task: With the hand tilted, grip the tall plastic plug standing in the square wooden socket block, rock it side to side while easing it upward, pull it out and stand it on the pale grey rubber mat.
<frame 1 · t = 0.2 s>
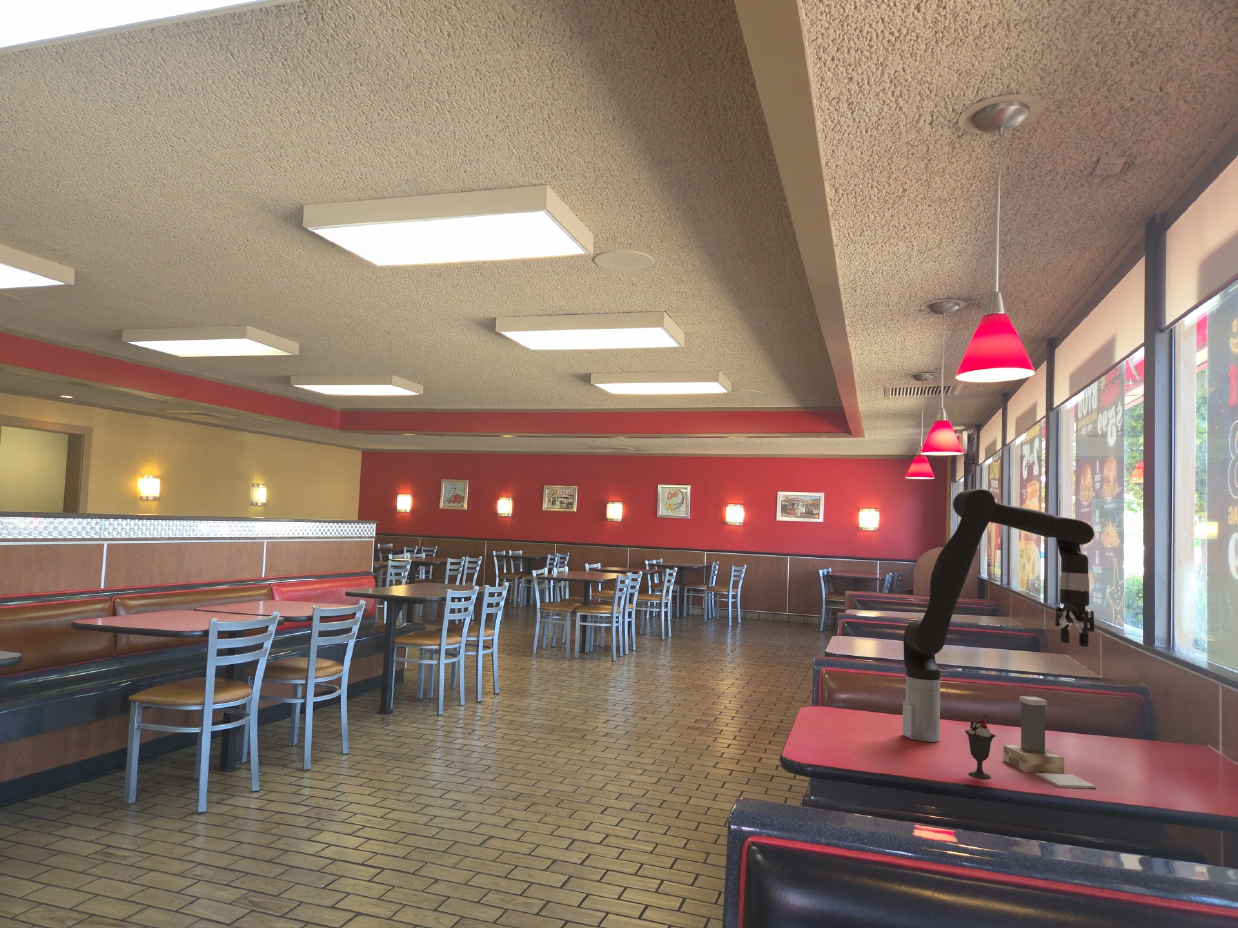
hand: (1074, 644, 226), 29 cm above the table, tool pointing down, fingers open, 8 cm apart
mat: (1065, 781, 186), on the table
plug: (1032, 732, 199), in the square wooden socket block
square wooden socket block: (1032, 766, 198), on the table
sundae: (979, 776, 187), on the table
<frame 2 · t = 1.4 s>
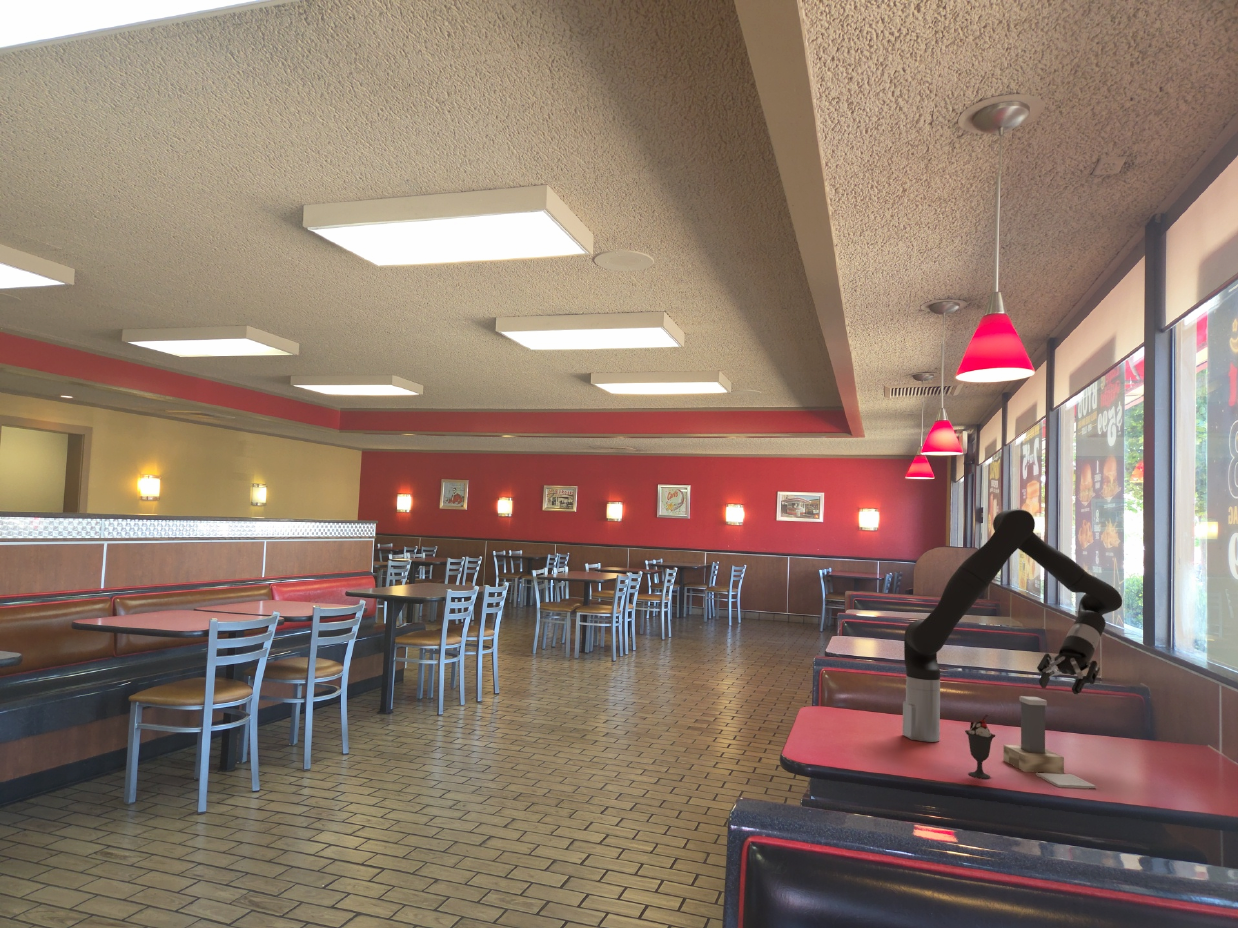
hand: (1057, 689, 206), 19 cm above the table, tool tilted 45°, fingers open, 8 cm apart
nothing on the table moved.
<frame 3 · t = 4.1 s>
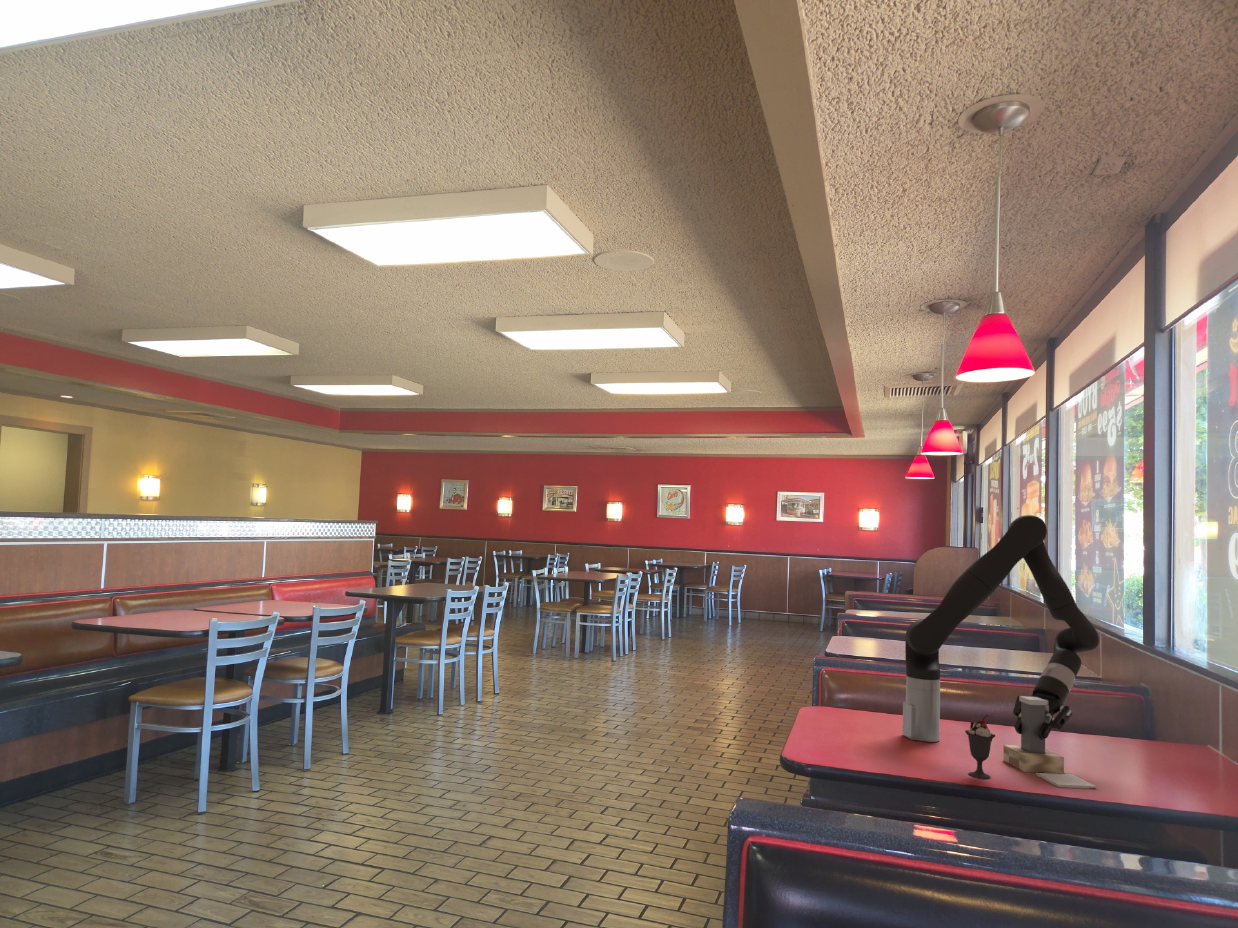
hand: (1029, 734, 197), 8 cm above the table, tool tilted 45°, fingers closed on plug, 5 cm apart
plug: (1033, 732, 198), in the square wooden socket block, touching gripper
everything else where it was.
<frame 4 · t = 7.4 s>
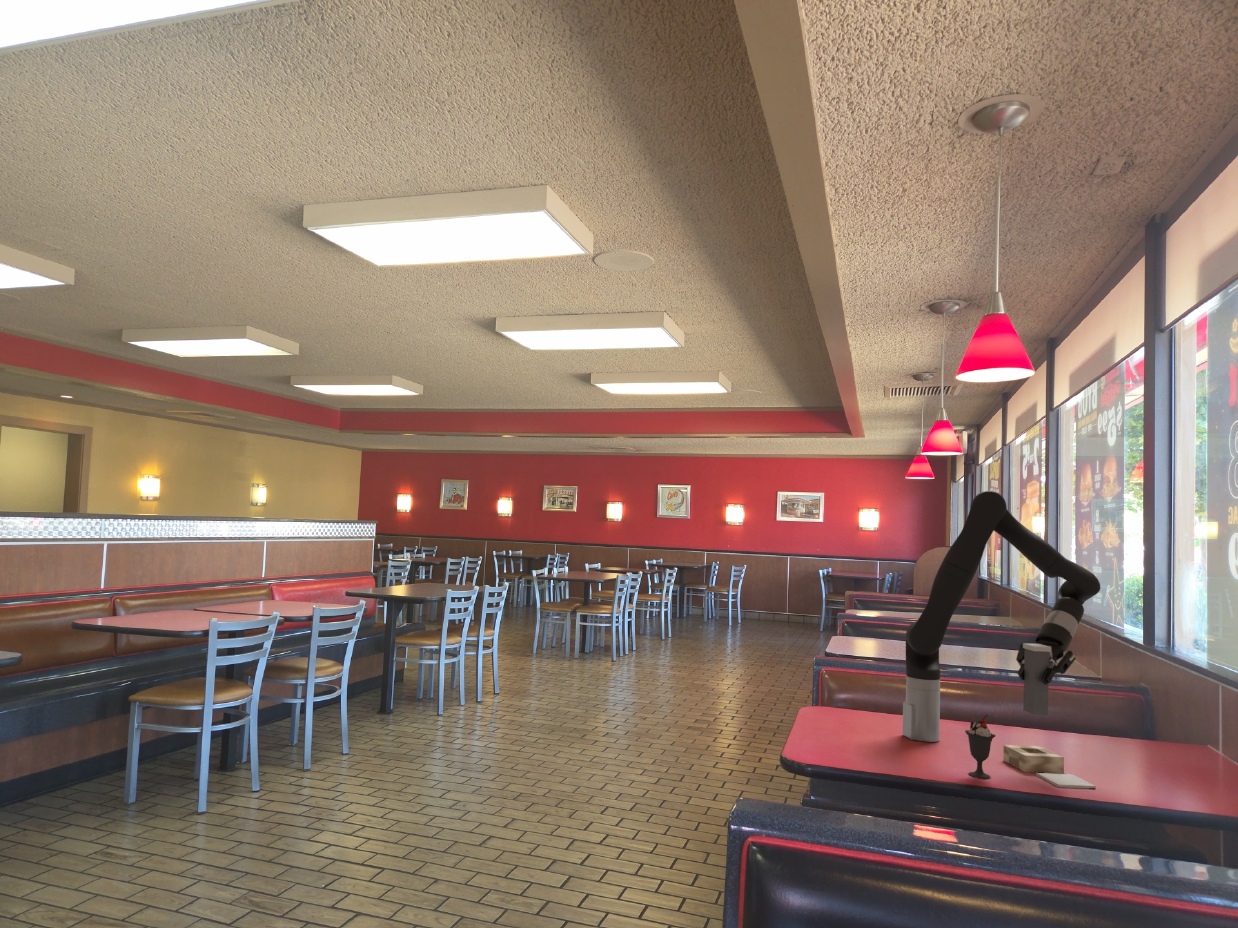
hand: (1032, 679, 198), 22 cm above the table, tool tilted 45°, fingers closed on plug, 5 cm apart
plug: (1036, 678, 199), point 22 cm above the table, touching gripper
everything else where it was.
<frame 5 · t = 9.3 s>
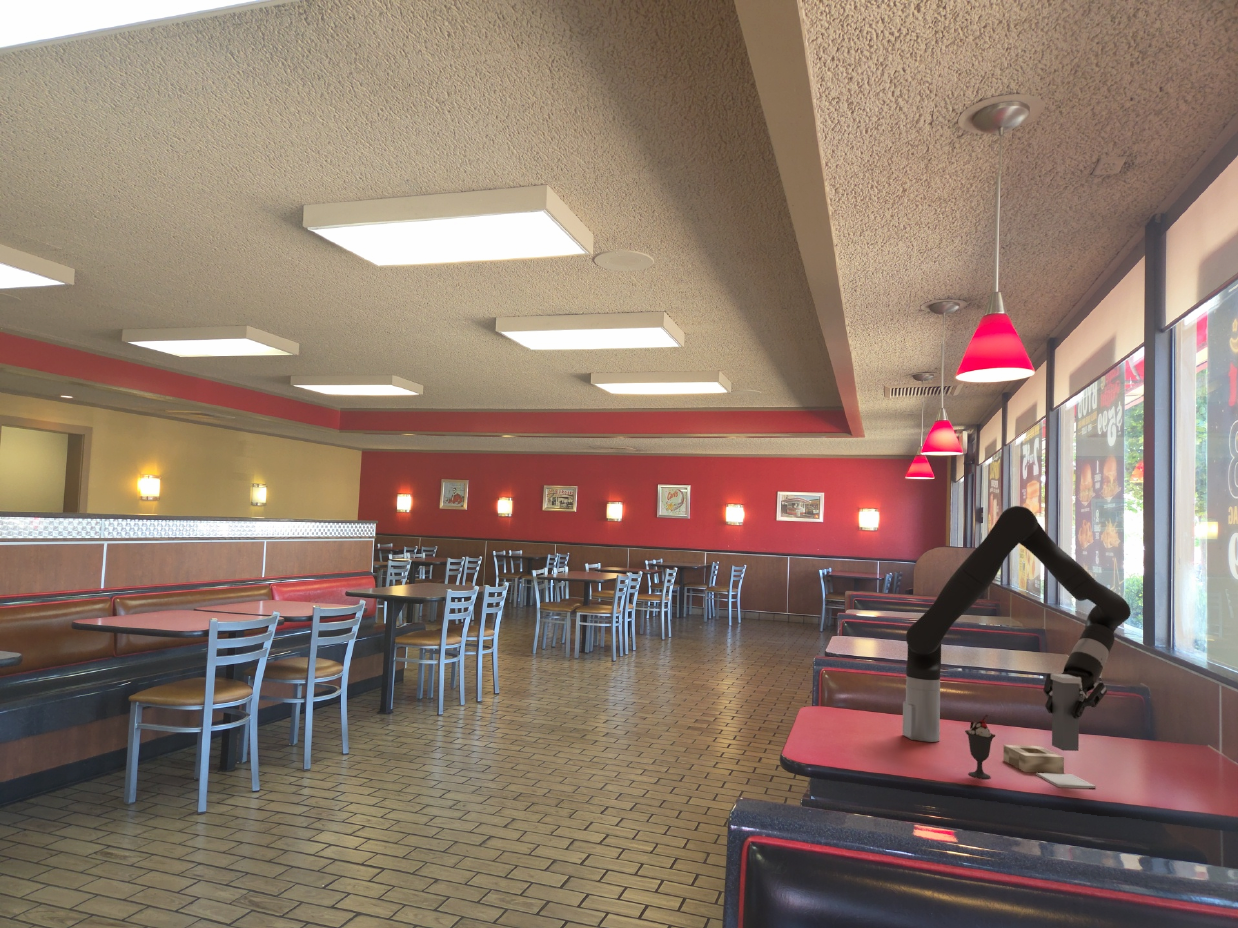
hand: (1061, 713, 186), 16 cm above the table, tool tilted 45°, fingers closed on plug, 5 cm apart
plug: (1065, 711, 187), point 16 cm above the table, touching gripper
everything else where it was.
when the fingers open (9 cm above the table, at t = 11.0 s): plug stays where it is, resting on mat.
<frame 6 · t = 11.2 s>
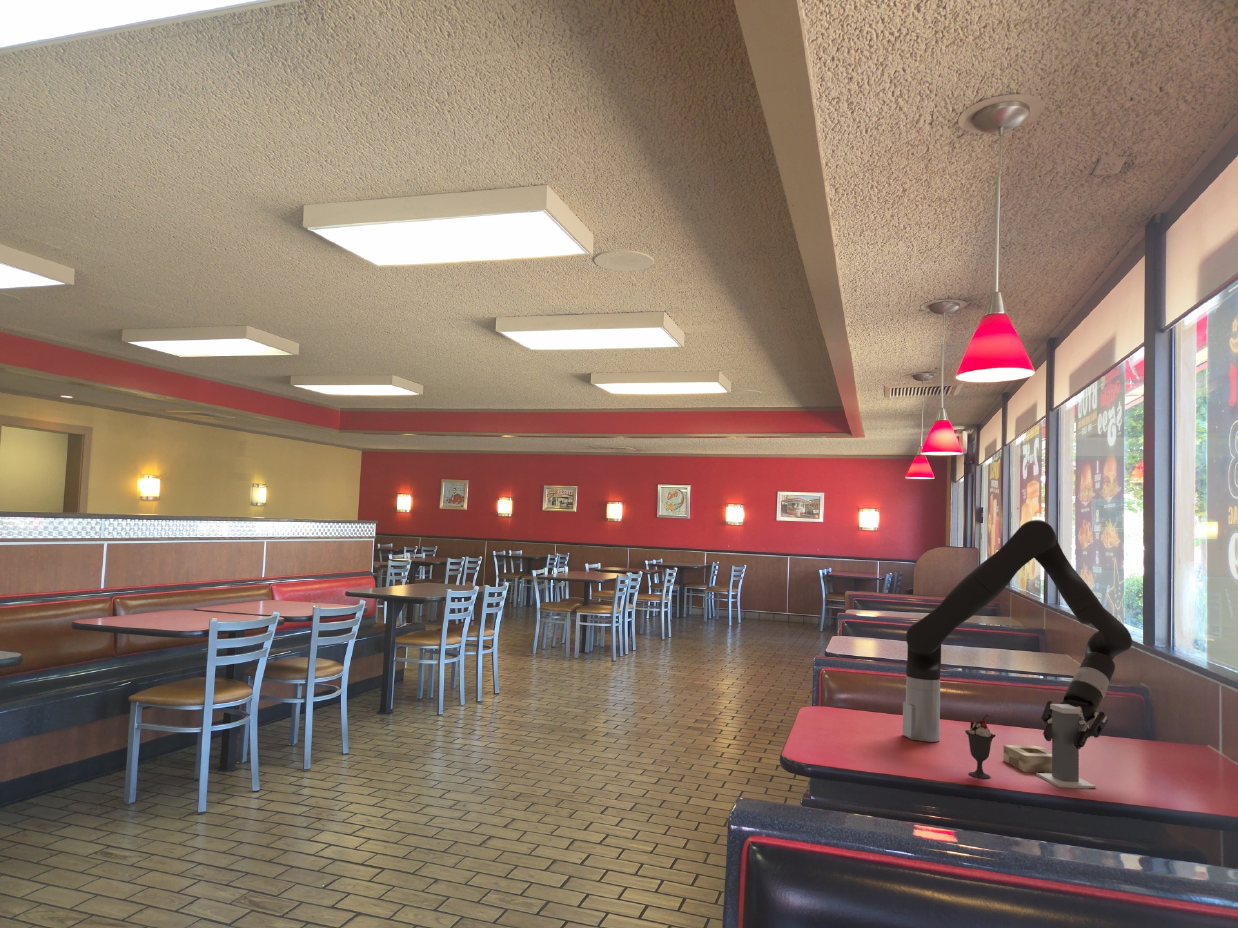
hand: (1061, 742, 186), 9 cm above the table, tool tilted 45°, fingers open, 6 cm apart
plug: (1065, 742, 187), on the mat, point 9 cm above the table
everything else where it was.
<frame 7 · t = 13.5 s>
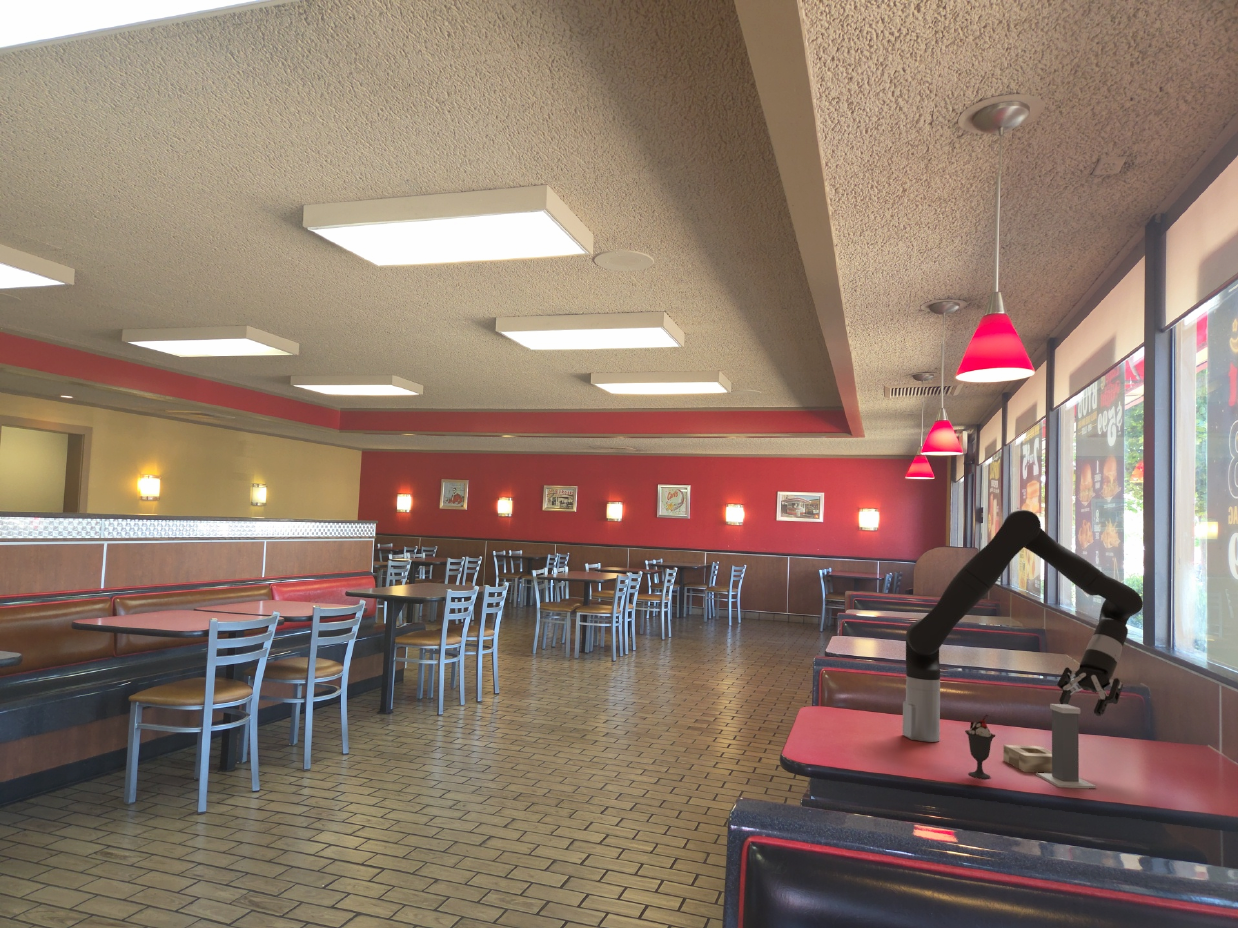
hand: (1079, 709, 197), 15 cm above the table, tool tilted 35°, fingers open, 8 cm apart
nothing on the table moved.
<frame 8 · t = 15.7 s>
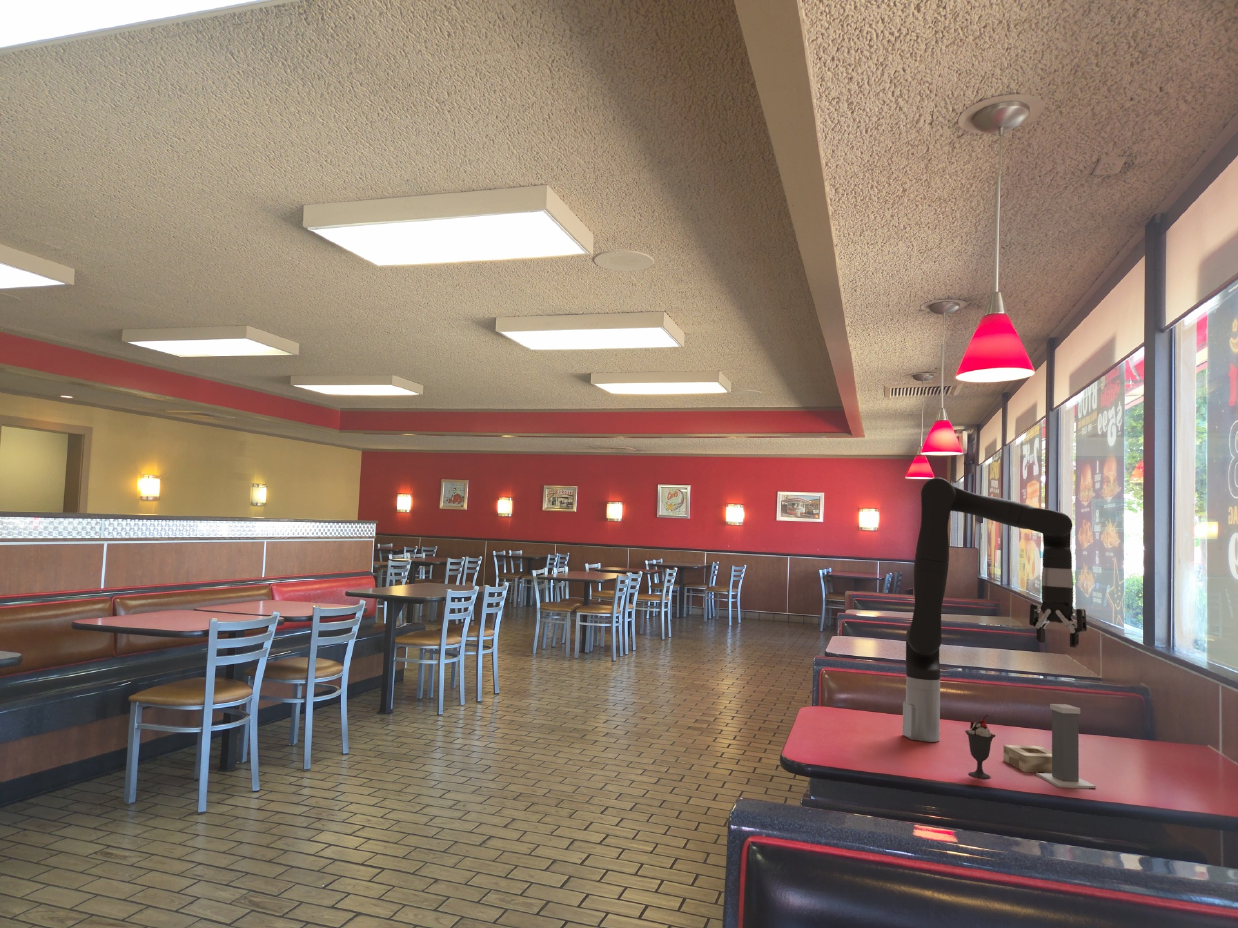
hand: (1057, 644, 210), 30 cm above the table, tool pointing down, fingers open, 8 cm apart
nothing on the table moved.
at the end: plug 0.3 cm from the mat (horizontally); plug point 9.2 cm above the table; plug tilted 0° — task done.
